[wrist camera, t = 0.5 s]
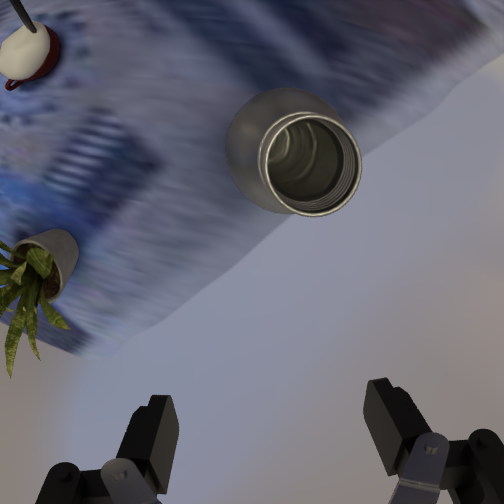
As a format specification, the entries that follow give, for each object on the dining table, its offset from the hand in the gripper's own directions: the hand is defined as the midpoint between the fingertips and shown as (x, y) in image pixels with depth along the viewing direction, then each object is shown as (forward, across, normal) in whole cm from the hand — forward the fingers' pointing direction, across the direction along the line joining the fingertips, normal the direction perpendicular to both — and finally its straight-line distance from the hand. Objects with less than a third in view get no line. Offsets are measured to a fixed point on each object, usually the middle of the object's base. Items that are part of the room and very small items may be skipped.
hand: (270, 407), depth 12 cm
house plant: (+22, +21, -4) cm, 31 cm away
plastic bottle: (+21, -2, -12) cm, 24 cm away
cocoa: (+19, +20, -24) cm, 37 cm away
